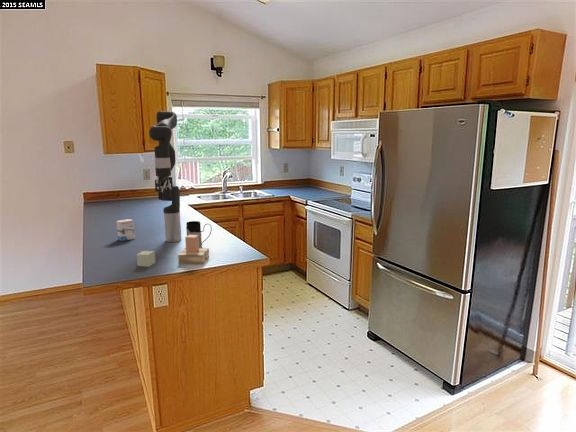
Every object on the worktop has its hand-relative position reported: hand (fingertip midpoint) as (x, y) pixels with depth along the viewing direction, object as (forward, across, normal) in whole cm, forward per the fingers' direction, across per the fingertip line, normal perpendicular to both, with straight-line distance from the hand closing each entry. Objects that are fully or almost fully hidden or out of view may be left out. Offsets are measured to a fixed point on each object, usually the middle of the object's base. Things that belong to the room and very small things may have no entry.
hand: (165, 198), depth 195 cm
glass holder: (+30, -13, +12) cm, 35 cm away
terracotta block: (+26, +7, +17) cm, 31 cm away
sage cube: (+30, +17, -3) cm, 35 cm away
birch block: (+30, +7, +17) cm, 36 cm away
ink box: (+30, -23, -39) cm, 54 cm away
